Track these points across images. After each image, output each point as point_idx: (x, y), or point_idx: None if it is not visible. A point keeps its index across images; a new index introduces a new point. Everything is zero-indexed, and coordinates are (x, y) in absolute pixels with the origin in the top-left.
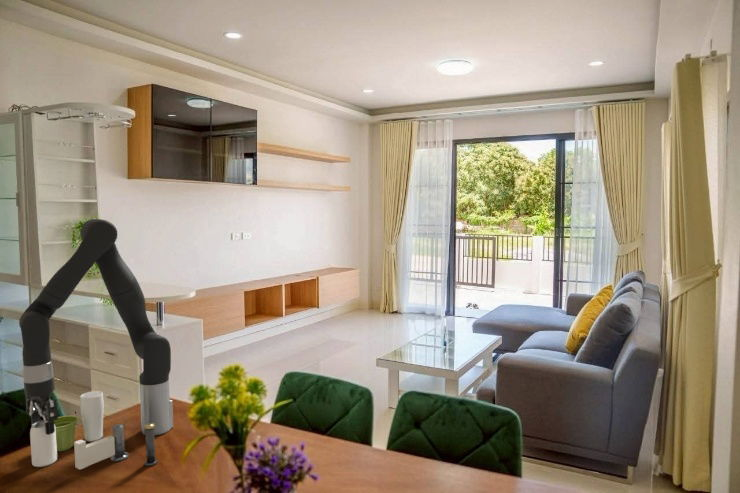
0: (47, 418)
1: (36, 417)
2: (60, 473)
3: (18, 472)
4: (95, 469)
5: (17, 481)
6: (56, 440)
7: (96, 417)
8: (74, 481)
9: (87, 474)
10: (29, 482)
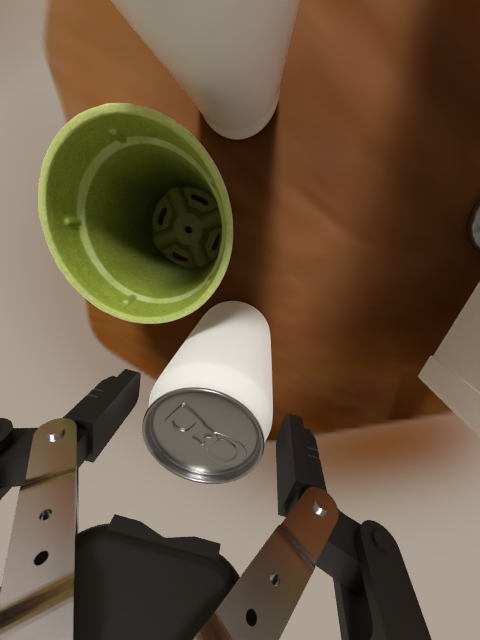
0: (341, 591)
1: (103, 431)
2: (347, 370)
3: None
4: None
5: None
6: (197, 278)
7: (296, 14)
8: (431, 393)
9: None
10: None
